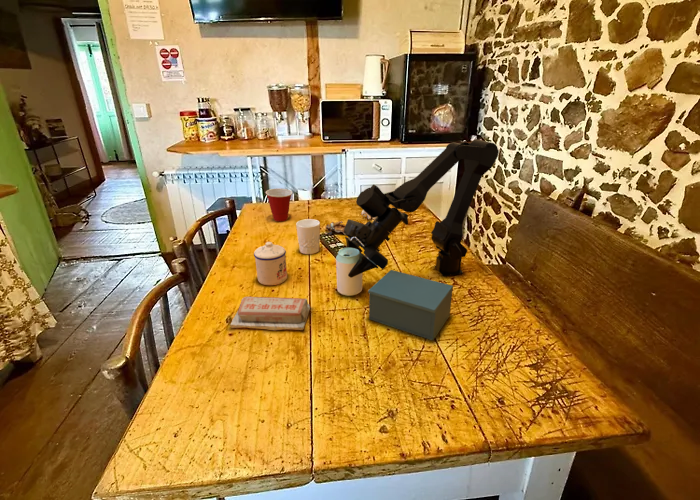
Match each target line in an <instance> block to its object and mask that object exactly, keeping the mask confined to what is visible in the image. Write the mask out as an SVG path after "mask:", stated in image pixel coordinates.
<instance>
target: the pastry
mask: <svg viewBox="0 0 700 500" xmlns="http://www.w3.org/2000/svg"><path fill="white" fill-rule="evenodd" d="M345 226H346V224H343V220H340V221H336V222H333V221H332V222H331V223H330V224H329V223H328V224H327V225H325V230H327V232H324V235H327V236H331V235H333V231H334V232H335V233H343V235H346V234H345V233H344V232H345V231H344V228H345Z"/></svg>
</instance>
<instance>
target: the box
mask: <svg viewBox="0 0 700 500" xmlns="http://www.w3.org/2000/svg"><path fill="white" fill-rule="evenodd" d="M453 290H454V288H453V289H452V290H451V291H450V293H449V294H448V296H447V297H446V298H445V300H444V301H443V302H442V304H441V305H440V306H439V308H438V309H437V310H436V312H435V313H433V312H429V311H426V310H423V309H419V308H416V307H413V306H409V305H406V304H403V303H399V302H396V301H393V300H389V299H386V298H383V297H379V296H376V295H373V294H369V293H368V296H369V297H368V298H369V299H368V300H369V301H368V306H369V307H368V308H369V309H368V320H370V321H373V322H376V323H379V324H382V325H385V326H388V327H391V328H394V329H397V330H400V331H403V332H406V333H408V334H412V335H415V336H417V337H421V338H425V339H426V340H430V341H434V340H435V338H436V337H437V336H438V335H439V332H440V331H441V330H442V328H443V327H444V326H445V323H446V322H447V321H448V319H449V318H450V315H451V309H452V308H451V307H452V299H453Z"/></svg>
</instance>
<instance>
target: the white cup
mask: <svg viewBox="0 0 700 500" xmlns="http://www.w3.org/2000/svg"><path fill="white" fill-rule="evenodd" d="M295 226H296V227H295V228H296V235H297V242H298V248H299V249H298V250H299V252H300V253H301V254H304V255H313V254H314V255H315V254H317V253H319V251H320V241H321V240H320V239H321V222H320V221H319V220H318V219H314V218H305V219H301V220H298V221H296V223H295Z"/></svg>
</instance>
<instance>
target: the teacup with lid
mask: <svg viewBox="0 0 700 500" xmlns="http://www.w3.org/2000/svg"><path fill="white" fill-rule="evenodd" d="M286 253H287V251H286V249H285V247H283V246H282V245H279V244H273V242H272V241H266V242H265V244H264V245H262V246H258V247H257V248H256V249H255V250H254V252H253V256H254V260H255V269H256V276H257V281H258V283H260V284H262V285H264V286H277V285H280V284H282V283H284V282H286V280H287V279H288V270H287V259H286V258H287V257H286Z"/></svg>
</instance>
